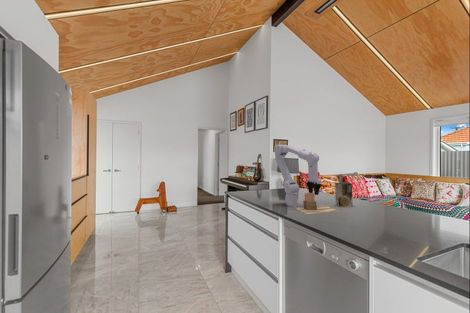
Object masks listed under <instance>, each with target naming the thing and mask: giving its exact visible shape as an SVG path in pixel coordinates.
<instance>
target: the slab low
mask: <svg viewBox="0 0 470 313" xmlns="http://www.w3.org/2000/svg"><path fill="white" fill-rule="evenodd" d="M317 206H318V205H316V206H306V205H304V204H303V207H304V209H306V210H317Z"/></svg>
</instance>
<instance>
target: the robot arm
mask: <svg viewBox="0 0 470 313" xmlns="http://www.w3.org/2000/svg"><path fill="white" fill-rule="evenodd" d="M273 153H274V156H275V161H276V165H277V166H278V168H279V171H280V173H281V175H282V176H281V177H282V178H283V180H284V183H283V187H284V191H285V198H284V199H285V203H284V204H285V206H288V207H297V206H298V207H299V203H298V202H299V201H298V200H299V198H298V196H299V191H300V185H299V184H298V183H297V182H296V180H294V178H293V177H292V175H291V172H290V170H289V168H288V165H287V163H286V161H285V157H286V156H287V154H288V153H291V154H293V155H297V157H298V159H299V158H300V159H301V160H304V161H306V162H307V167H308V173H307V174H308V178H306V182H305V186H306V187H307V190H308V193H314V196H319V194H320V189H321V187H322V186H323V184H322V183H321V180H320V179H319V169H318V168H319V167H318V162H319V160H320V156H319V155H318V154H317V153H312V151H307V150H306V149H300V150H299V149H297V148H296V147H294V146H290V145H287V144H276V145H275V146H274V148H273Z"/></svg>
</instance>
